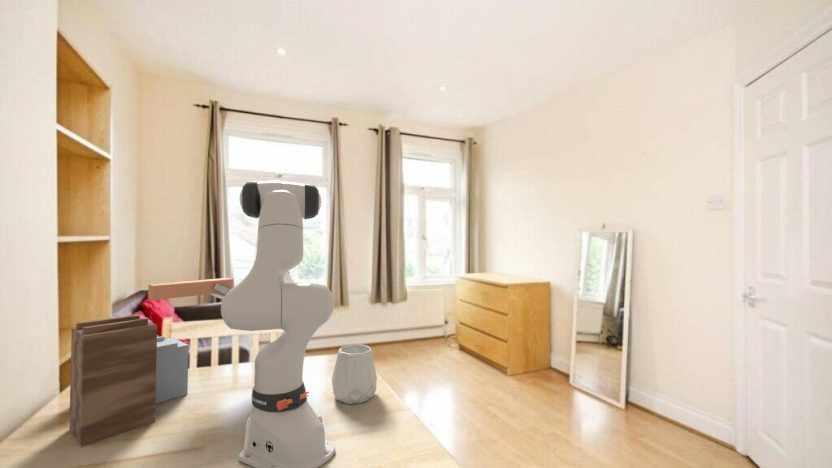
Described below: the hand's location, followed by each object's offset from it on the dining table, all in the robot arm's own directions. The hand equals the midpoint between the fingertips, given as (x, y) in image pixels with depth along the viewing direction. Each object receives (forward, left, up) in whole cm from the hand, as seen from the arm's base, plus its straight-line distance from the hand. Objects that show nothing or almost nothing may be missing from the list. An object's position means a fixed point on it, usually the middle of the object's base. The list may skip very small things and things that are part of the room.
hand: (210, 285), depth 116 cm
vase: (-35, -29, -35) cm, 57 cm away
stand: (0, +24, -35) cm, 42 cm away
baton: (0, +5, -2) cm, 5 cm away
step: (+12, +9, -35) cm, 38 cm away
